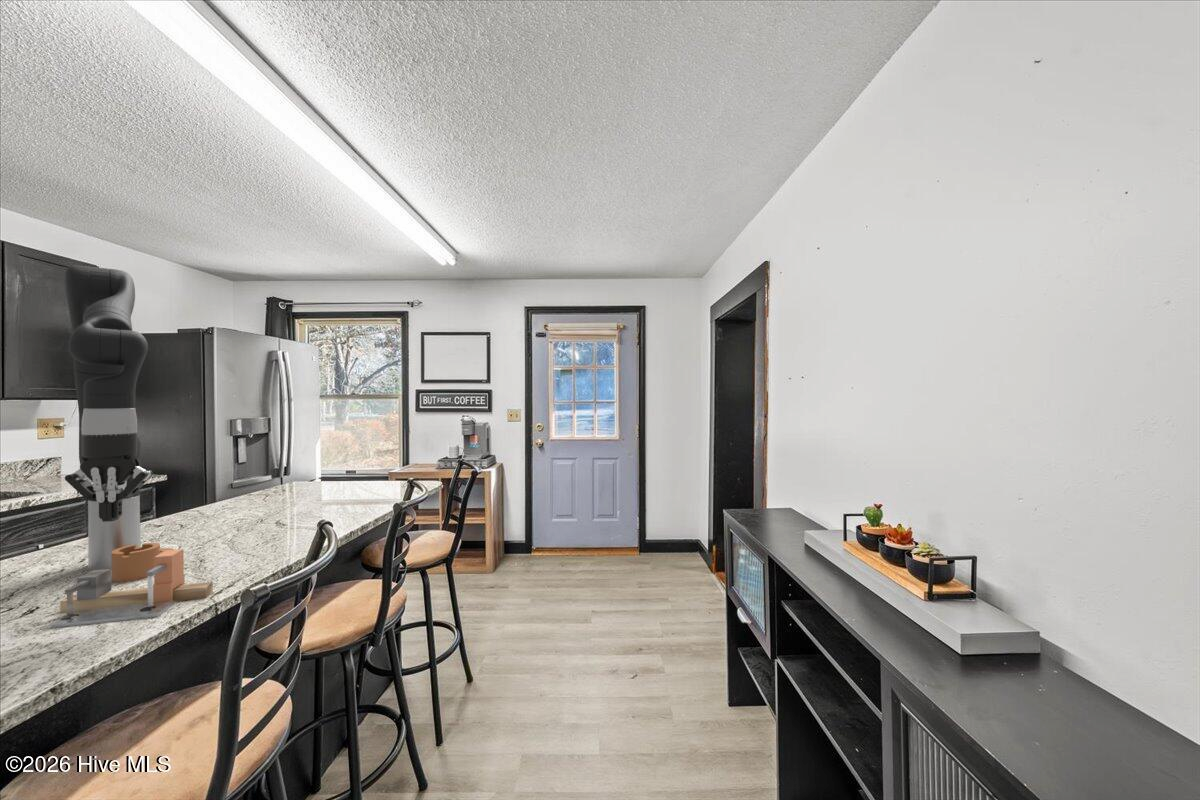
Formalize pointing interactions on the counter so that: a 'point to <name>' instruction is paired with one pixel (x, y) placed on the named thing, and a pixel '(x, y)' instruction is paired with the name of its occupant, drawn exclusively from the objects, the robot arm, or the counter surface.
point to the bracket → (134, 561)
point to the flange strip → (113, 614)
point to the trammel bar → (119, 593)
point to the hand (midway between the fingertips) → (110, 520)
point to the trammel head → (165, 576)
